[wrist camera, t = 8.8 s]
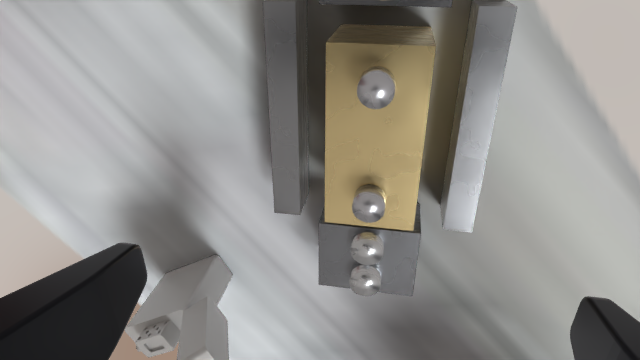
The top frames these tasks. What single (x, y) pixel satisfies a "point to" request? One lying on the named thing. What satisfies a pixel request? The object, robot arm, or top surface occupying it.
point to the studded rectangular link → (463, 157)
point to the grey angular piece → (185, 313)
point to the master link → (376, 122)
